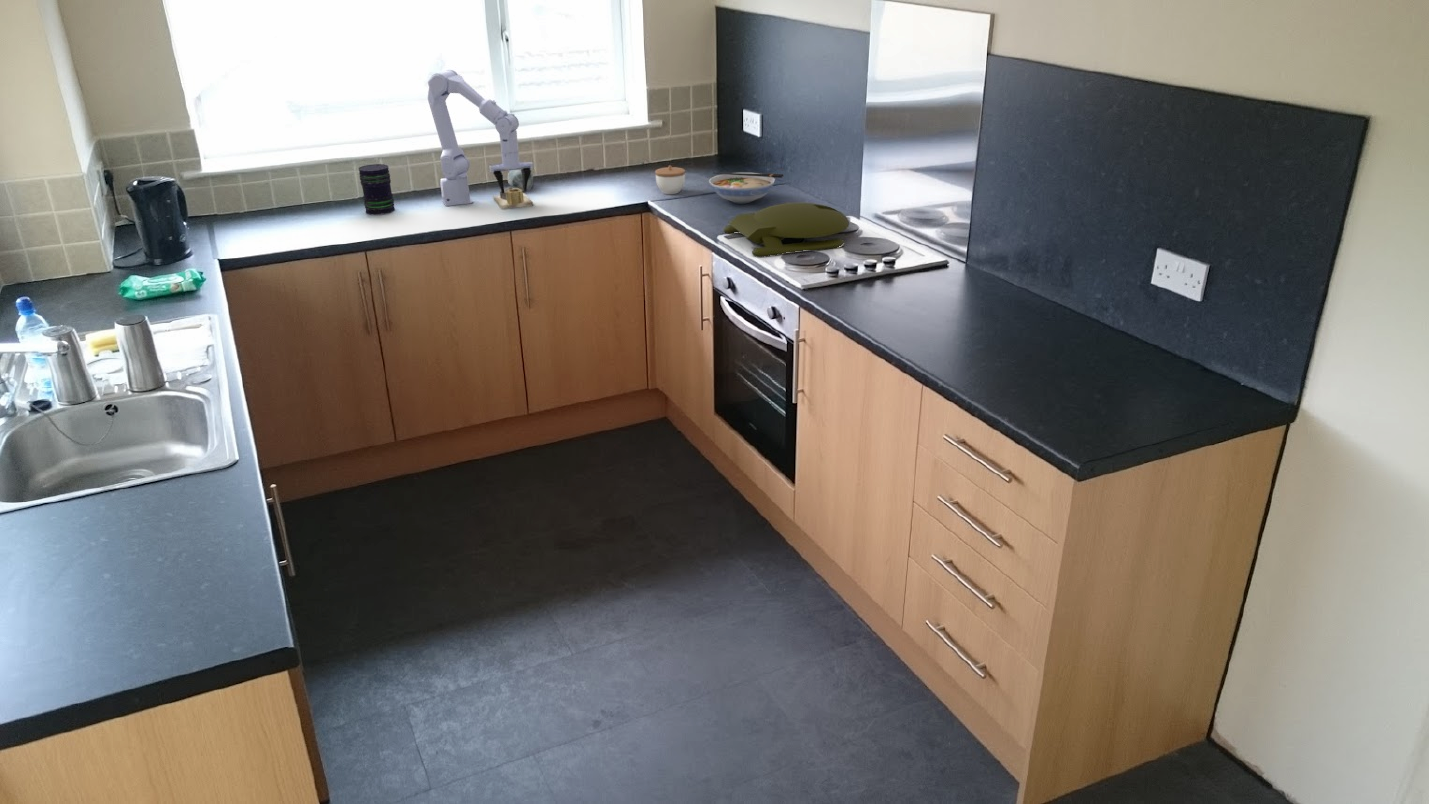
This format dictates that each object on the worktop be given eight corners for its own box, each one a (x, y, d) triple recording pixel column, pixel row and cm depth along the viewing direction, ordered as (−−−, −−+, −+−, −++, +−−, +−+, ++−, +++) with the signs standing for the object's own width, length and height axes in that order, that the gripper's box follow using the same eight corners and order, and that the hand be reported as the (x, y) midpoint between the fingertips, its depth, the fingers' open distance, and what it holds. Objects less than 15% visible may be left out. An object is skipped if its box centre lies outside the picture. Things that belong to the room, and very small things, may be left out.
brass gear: (508, 204, 353) (507, 193, 351) (505, 200, 358) (504, 189, 356) (524, 202, 354) (523, 191, 353) (521, 199, 359) (520, 187, 358)
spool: (539, 182, 372) (524, 158, 369) (517, 197, 371) (501, 172, 369) (538, 183, 385) (523, 160, 382) (517, 197, 384) (502, 173, 382)
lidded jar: (675, 197, 363) (674, 170, 359) (650, 193, 368) (648, 167, 364) (691, 190, 371) (690, 164, 367) (666, 187, 376) (665, 161, 372)
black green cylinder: (386, 215, 348) (379, 171, 341) (360, 214, 350) (352, 170, 343) (400, 207, 357) (393, 164, 350) (374, 206, 359) (367, 163, 352)
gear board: (501, 209, 352) (499, 196, 350) (493, 199, 364) (492, 187, 362) (533, 205, 356) (531, 192, 354) (524, 196, 368) (523, 183, 366)
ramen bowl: (697, 207, 350) (696, 183, 347) (718, 190, 370) (718, 168, 366) (767, 212, 343) (767, 187, 339) (785, 195, 362) (786, 172, 359)
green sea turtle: (755, 259, 297) (755, 226, 293) (721, 232, 324) (721, 201, 320) (865, 246, 307) (867, 214, 303) (824, 220, 333) (824, 190, 329)
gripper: (490, 155, 343) (495, 196, 349) (533, 151, 348) (537, 191, 354) (486, 151, 349) (491, 191, 355) (529, 147, 354) (532, 187, 360)
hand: (513, 191), depth 355 cm, fingers open, 7 cm apart
